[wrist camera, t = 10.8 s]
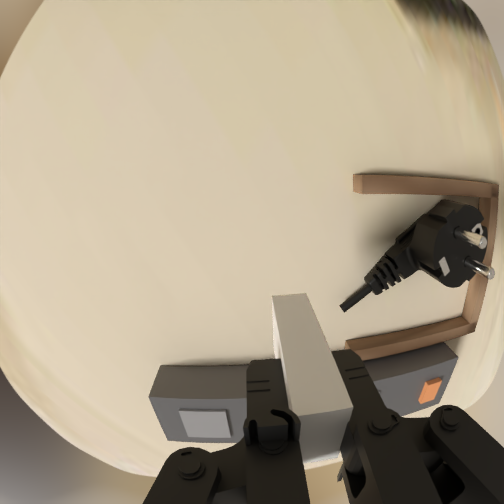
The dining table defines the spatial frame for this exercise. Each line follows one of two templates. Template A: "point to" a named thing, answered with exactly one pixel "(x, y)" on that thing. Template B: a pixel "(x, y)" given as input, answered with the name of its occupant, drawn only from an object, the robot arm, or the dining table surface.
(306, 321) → the robot arm
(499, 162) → the dining table surface
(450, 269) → the power plug
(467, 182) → the bay
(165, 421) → the power strip
